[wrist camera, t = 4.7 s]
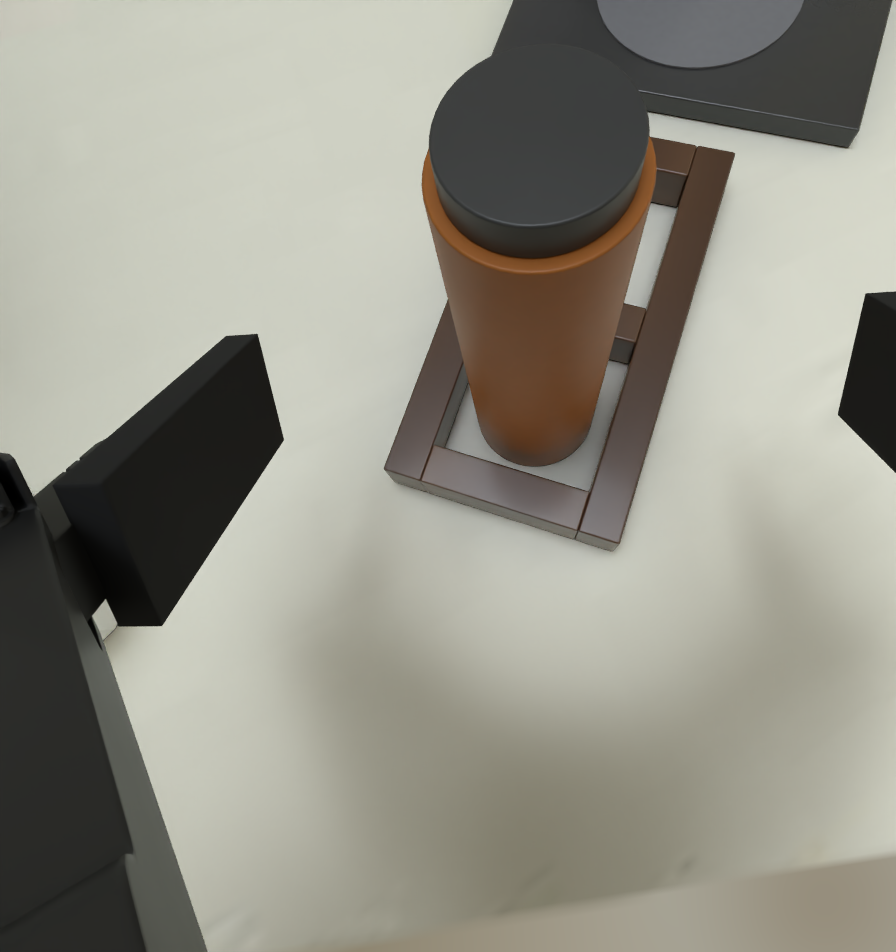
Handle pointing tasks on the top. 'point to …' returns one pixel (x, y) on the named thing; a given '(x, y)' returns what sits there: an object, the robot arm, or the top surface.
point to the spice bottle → (538, 235)
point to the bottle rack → (636, 342)
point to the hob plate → (727, 56)
